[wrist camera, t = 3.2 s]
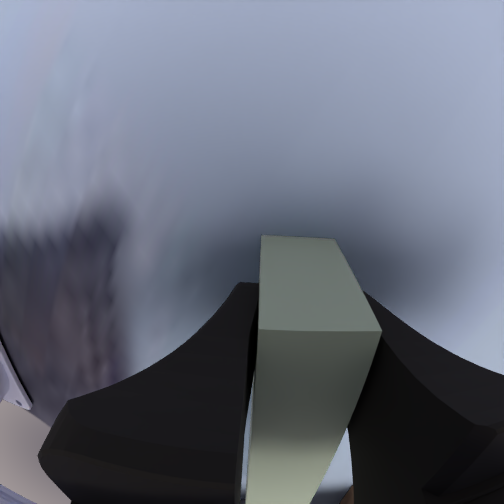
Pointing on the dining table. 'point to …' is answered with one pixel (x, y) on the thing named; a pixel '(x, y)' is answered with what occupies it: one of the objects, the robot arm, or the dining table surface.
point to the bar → (304, 365)
